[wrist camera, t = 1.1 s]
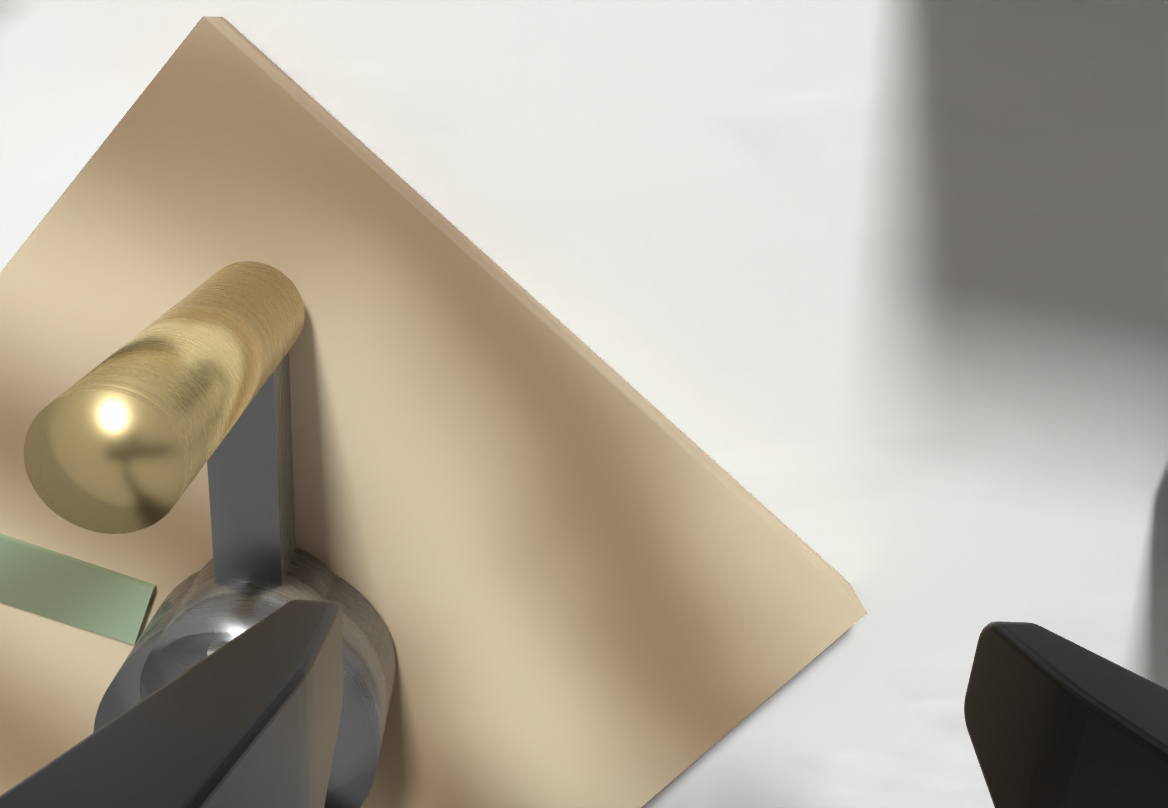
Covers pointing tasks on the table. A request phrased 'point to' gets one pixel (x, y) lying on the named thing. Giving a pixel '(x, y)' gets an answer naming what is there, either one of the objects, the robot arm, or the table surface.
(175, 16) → the table surface
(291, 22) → the table surface
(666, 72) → the table surface
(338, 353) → the stand
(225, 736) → the robot arm
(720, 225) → the table surface
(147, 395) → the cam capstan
